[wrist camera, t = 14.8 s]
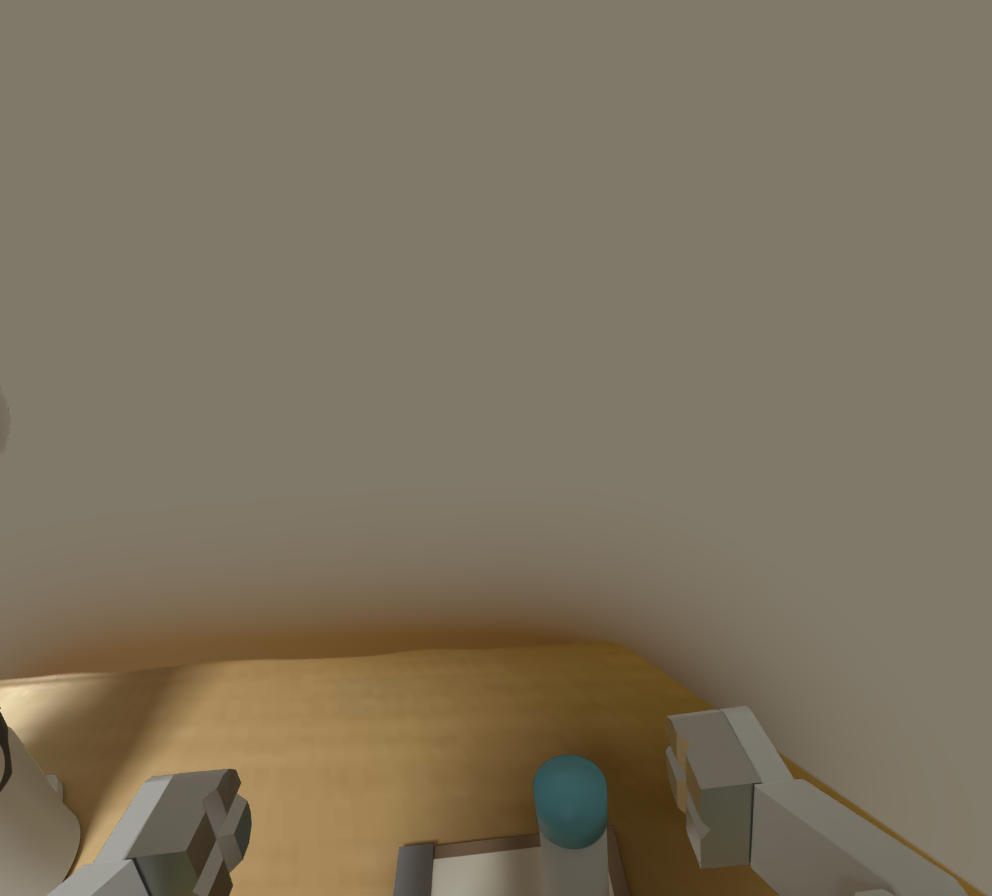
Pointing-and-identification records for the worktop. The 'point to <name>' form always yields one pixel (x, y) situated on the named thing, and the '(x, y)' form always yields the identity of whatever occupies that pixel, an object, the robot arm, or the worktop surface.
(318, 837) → the worktop surface
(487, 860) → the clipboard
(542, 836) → the water bottle
